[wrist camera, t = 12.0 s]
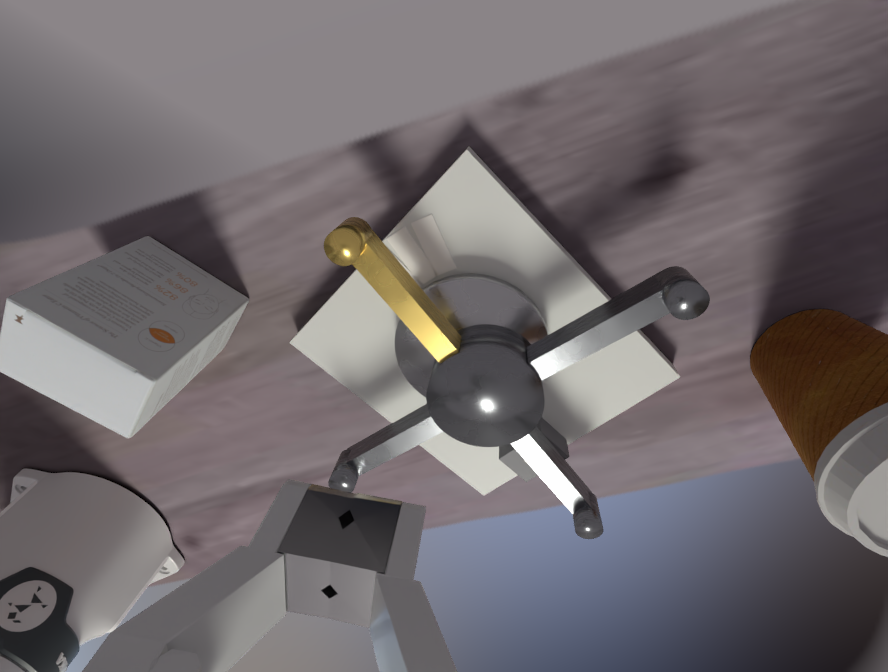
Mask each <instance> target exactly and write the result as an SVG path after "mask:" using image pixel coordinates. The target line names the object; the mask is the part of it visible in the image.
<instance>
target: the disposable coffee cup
mask: <svg viewBox="0 0 888 672" xmlns="http://www.w3.org/2000/svg"><path fill="white" fill-rule="evenodd" d="M750 366H751V370H752V372H753V375H754V376H755V378H756V379H757V381H758V383H759V385H760V386H761V388H762V390H763V392H764V394H765V395H766V397H767V399H768V401H769V402H770V404H771V406H772V408H773V409H774V411H775V413H776V415H777V416H778V418H779V420H780V422H781V424H782V425H783V427H784V429H785V431H786V432H787V434H788V436H789V438H790V440H791V441H792V443H793V445H794V447H795V448H796V450H797V452H798V454H799V456H800V457H801V459H802V461H803V462H804V464H805V466H806V468H807V470H808V472H809V473H810V475H811V477H812V479H813V481H814V484H815V489H816V499H817V501H818V504H819V506H820V508H821V511H822V513H823V514H824V515H825V516H826V518H827V519H828V520H829V521H830V523H831V524H832V525H834V526H835V527H837V528H838V529H840V530H841V531H843V532H844V533H846V534H848V535H851V536H853V537H855V538H856V539H857V540H858V541H859V542H860V543H862V544H863V545H864V546H865V547H867V548H869V549H871V550H873V551H874V552H876V553H878V554H880V555H884V556H887V557H888V335H887V334H885V333H883V332H881V331H879V330H876V329H875V328H872V327H870V326H867V325H866V324H864V323H862V322H859V321H858V320H855V319H853V318H850V317H849V316H847V315H845V314H843V313H841V312H838V311H833V310H829V309H814V310H806V311H801V312H798V313H796V314H793V315H790V316H788V317H785V318H784V319H782V320H780V321H778V322H776V323H775V324H774V325H772V326H771V327H770V328H768V329H767V330H766V331H765V332H764V333H763V335H762V336H761V337H760V338H759V339H758V341H757V342H756V343H755V345H754V348H753V350H752V353H751V358H750Z"/></svg>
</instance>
